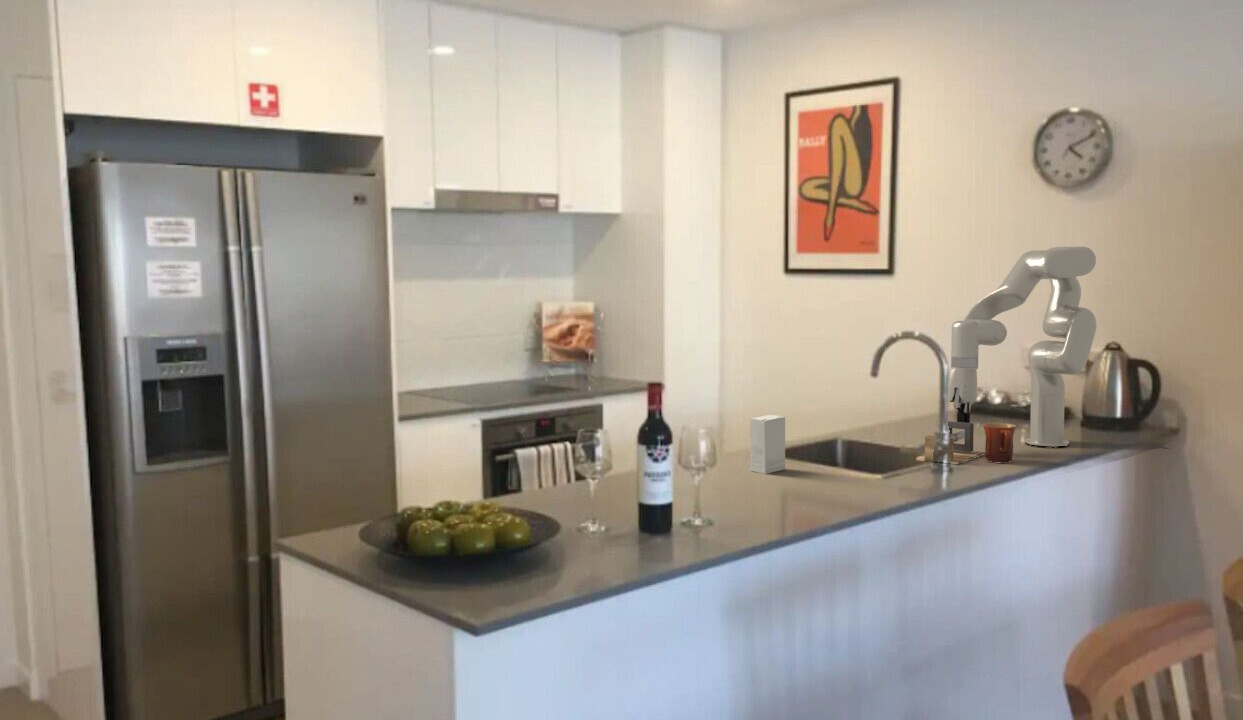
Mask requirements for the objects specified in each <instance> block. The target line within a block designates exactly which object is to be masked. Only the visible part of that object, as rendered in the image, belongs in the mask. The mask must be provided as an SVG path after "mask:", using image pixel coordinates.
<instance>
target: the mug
mask: <svg viewBox="0 0 1243 720" xmlns="http://www.w3.org/2000/svg"><path fill="white" fill-rule="evenodd" d="M982 427H983V429H984V435H985V444H984V452H985V455H984V456H985V460H986V461H987V460H988V461H987V462H989V461H992V462H1009V461H1011V462H1012V461H1013V458H1014V434H1015V432H1016V429H1017V425H1016V424H1013V423H1005V422H1004V423H1003V422H988V423H987V422H986V423H984V424H983V425H982ZM992 462H991V463H992ZM1009 463H1010V462H1009Z"/></svg>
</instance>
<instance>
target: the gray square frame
mask: <svg viewBox="0 0 1243 720" xmlns="http://www.w3.org/2000/svg"><path fill="white" fill-rule="evenodd" d="M947 421H948V426H949V430H950V434H953V429H955V430H956V429H958V430H965V439H964V443H955V442H953V450H955V451H965V452H971V451H974V434H975V433H974V431H975V430H974V428H975V427H974V426H975V425H974V422H970V423H964V422H957V421H952V420H950V421H949V420H947Z"/></svg>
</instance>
